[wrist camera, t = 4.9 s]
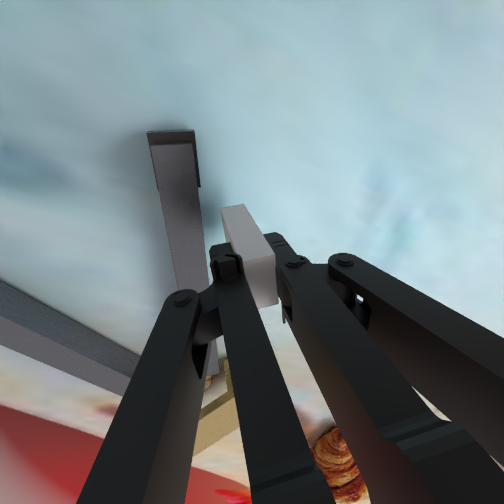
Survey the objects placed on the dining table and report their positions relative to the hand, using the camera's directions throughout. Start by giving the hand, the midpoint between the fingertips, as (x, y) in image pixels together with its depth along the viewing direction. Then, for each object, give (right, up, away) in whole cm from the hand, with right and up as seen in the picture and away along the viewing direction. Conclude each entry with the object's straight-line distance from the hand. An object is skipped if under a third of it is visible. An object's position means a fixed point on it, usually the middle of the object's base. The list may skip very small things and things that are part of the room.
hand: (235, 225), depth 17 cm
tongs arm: (-3, -3, +2) cm, 5 cm away
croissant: (+14, -33, +25) cm, 44 cm away
